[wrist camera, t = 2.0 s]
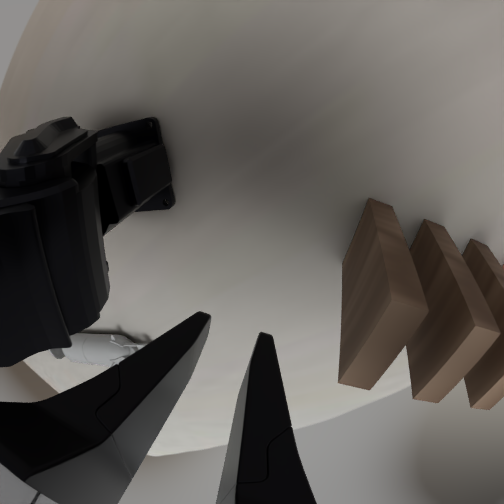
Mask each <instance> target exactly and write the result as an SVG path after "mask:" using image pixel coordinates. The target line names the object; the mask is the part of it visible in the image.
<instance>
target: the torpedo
mask: <svg viewBox="0 0 504 504" xmlns="http://www.w3.org/2000/svg"><path fill="white" fill-rule="evenodd" d="M70 339H71V341H72V346H71V347H70V348H57V349H49V350H48V351H49V352H50V353H51V355H53V356H54V357H55V358H57V359H62V358H63V357H65V356H66V357H67V358H68V359H69V360H70V361H72V362H78V363H84V364H91V365H101V366H108V367H110V368H111V367H112V366H114V365H115V364H118V363H119V362H120V361H122V360H124V359H125V358H127V357H128V356H130V355H131V354H133V353H135V352H136V351H138V350H139V349H141V348H142V347H144V346H146V344H136V343H133V342H132V341H131V340H130V339H127V338H126V337H125V336H123V335H113V334H86V333H76V334H74V335H71V336H70ZM118 365H119V364H118Z"/></svg>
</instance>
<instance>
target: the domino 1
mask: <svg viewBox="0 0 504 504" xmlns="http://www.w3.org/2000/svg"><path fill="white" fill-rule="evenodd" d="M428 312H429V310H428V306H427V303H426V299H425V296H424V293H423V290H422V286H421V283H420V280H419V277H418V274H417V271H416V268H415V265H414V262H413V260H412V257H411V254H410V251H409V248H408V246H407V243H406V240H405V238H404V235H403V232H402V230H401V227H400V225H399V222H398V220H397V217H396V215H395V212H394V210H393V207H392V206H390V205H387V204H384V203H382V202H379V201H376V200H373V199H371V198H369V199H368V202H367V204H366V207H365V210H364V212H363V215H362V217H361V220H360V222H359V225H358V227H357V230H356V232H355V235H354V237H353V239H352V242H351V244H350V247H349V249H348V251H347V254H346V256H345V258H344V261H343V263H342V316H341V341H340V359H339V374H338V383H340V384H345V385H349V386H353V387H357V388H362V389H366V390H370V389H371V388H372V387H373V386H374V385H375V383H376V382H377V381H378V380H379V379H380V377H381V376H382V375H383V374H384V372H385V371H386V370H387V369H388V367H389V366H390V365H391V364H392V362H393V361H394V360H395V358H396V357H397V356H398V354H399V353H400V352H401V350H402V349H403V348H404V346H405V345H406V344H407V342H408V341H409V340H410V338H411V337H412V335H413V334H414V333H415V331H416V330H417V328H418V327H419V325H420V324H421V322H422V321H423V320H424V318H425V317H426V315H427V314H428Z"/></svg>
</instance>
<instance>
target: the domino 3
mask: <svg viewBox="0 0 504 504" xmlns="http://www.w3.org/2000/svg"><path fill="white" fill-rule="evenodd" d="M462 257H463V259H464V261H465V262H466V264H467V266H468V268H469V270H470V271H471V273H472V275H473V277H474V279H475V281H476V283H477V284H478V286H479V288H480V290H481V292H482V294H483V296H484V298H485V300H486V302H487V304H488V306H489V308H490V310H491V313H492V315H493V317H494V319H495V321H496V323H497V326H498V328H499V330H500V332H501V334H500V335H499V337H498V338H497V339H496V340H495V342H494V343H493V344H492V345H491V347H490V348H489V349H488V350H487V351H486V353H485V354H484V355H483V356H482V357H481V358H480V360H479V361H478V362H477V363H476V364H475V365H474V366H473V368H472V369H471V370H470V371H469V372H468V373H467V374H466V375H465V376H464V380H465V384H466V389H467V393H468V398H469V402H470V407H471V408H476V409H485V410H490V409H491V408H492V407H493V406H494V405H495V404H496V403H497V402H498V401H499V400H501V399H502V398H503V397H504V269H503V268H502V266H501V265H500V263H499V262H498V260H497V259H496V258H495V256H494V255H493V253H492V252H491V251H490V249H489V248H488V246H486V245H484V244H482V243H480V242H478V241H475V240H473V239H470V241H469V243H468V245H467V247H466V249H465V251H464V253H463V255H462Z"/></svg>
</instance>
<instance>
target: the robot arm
mask: <svg viewBox="0 0 504 504" xmlns="http://www.w3.org/2000/svg"><path fill="white" fill-rule="evenodd" d="M149 122H151V123H152V128H151V127H150V126H149ZM171 181H172V179H171V174H170V169H169V165H168V160H167V155H166V150H165V147H164V146H163V143H162V138H161V133H160V128H159V123H158V120H157V119H156V118H154V117H149V118H145V119H141V120H137V121H133V122H129V123H125V124H121V125H117V126H114V127H110V128H107V129H103V130H100V131H92V130H85V129H80V126H78V125H77V124H76V123H75V121H74V120H73V118H72V117H62V118H59V119H55V120H52V121H49V122H46V123H43V124H41V125H39V126H38V127H37V128H35V129H31V130H28V131H27V132H26V133H25V134H22V135H19V136H15V137H13V138H11V139H10V140H9V142H8V143H7V145H6V146H5V147H4V149H3V150H2V152H1V153H0V367H9V366H12V365H14V364H16V363H18V362H20V361H22V360H24V359H25V358H27V357H29V356H31V355H34V354H36V353H38V352H42V351H46V350H49V349H57V348H70V347H71V346H72V341H71V339H70V336H71V335H74V334H76V333H78V332H80V331H82V330H84V329H86V328H88V327H90V326H91V325H92V324H93V323H94V322H96V321H97V320H98V319H99V318H100V313H99V312H100V311H101V310H102V308H103V306H104V305H105V303H106V301H107V300H108V297H109V291H110V283H109V277H108V271H109V267H108V262H107V261H106V256H105V249H104V241H103V236H104V235H105V234H107V233H108V232H109V231H110V230H112V229H113V228H114V227H115V226H117V225H118V224H119V223H120V222H122V221H123V220H124V219H125V218H127V217H128V216H129V215H131V214H132V213H133V212H139V211H152V210H166V209H170V208H171V207H172V206H173V205H174V204H175V199H174V195H173V190H172V186H171ZM165 199H166V200H168V201H169V204H167V203H166V201H165ZM210 323H211V315H210V314H207V313H204V312H201V311H199V312H197V313H195V314H194V315H192V316H190V317H189V318H187V319H186V320H184V321H183V322H181V323H180V324H178V325H177V326H175V327H174V328H172V329H170V330H169V331H167V332H166V333H164V334H163V335H161V336H160V337H158V338H156V339H155V340H153V341H152V342H150V343H149V344H147V345H146V346H144V347H142V348H141V349H139V350H138V351H136V352H135V353H133V354H131V355H130V356H128V357H127V358H125V359H124V360H122V361H120V362H119V363H118V364H119V365H118V364H115V365H114V366H112V367H111V368H109V369H107V370H106V371H104V372H102V373H101V374H99V375H97V376H95V377H94V378H92V379H90V380H88V381H86V382H83V383H81V384H79V385H77V386H75V387H73V388H71V389H68V390H66V391H64V392H62V393H59V394H57V395H55V396H53V397H50V398H48V399H46V400H43V401H38V402H32V403H20V402H0V504H118V502H119V500H120V499H121V497H122V495H123V494H124V492H125V490H126V489H127V487H128V485H129V483H130V482H131V480H132V479H131V478H133V477H134V475H135V473H136V472H137V470H138V468H139V466H140V465H141V463H142V461H143V460H144V458H145V456H146V454H147V453H148V451H149V449H150V448H151V446H152V444H153V442H154V441H155V439H156V437H157V436H158V434H159V432H160V430H161V429H162V427H163V425H164V424H165V422H166V420H167V418H168V417H169V415H170V413H171V411H172V410H173V408H174V406H175V404H176V403H177V401H178V399H179V398H180V396H181V394H182V392H183V391H184V389H185V387H186V385H187V384H188V382H189V380H190V378H191V376H192V374H193V371H194V369H195V367H196V364H197V362H198V359H199V357H200V354H201V352H202V349H203V347H204V344H205V342H206V340H207V337H208V333H209V328H210ZM291 426H292V424H291V420H290V415H289V410H288V405H287V401H286V396H285V391H284V386H283V382H282V377H281V372H280V368H279V363H278V358H277V354H276V349H275V344H274V339H273V336H272V335H270V334H267V333H264V332H260V333H259V335H258V338H257V341H256V344H255V347H254V349H253V352H252V355H251V358H250V361H249V364H248V367H247V370H246V373H245V376H244V379H243V382H242V385H241V388H240V391H239V394H238V399H237V403H236V408H235V413H234V418H233V423H232V428H231V433H230V438H229V443H228V448H227V453H226V457H225V462H224V467H223V472H222V477H221V481H220V486H219V491H218V496H217V500H216V504H317V503H316V501H315V498H314V495H313V493H312V490H311V487H310V485H309V482H308V480H307V477H306V474H305V471H304V469H303V466H302V463H301V460H300V457H299V454H298V450H297V446H296V442H295V438H294V434H293V428H292V427H291Z"/></svg>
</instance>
